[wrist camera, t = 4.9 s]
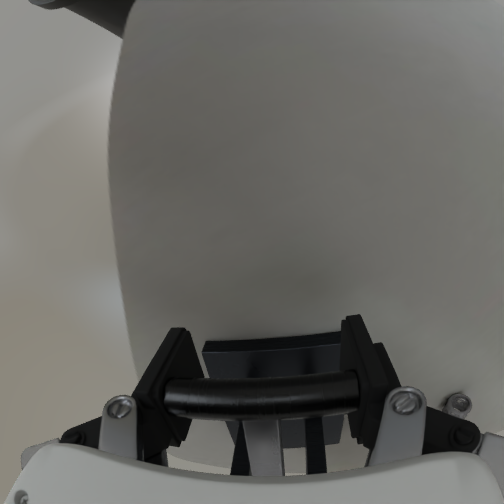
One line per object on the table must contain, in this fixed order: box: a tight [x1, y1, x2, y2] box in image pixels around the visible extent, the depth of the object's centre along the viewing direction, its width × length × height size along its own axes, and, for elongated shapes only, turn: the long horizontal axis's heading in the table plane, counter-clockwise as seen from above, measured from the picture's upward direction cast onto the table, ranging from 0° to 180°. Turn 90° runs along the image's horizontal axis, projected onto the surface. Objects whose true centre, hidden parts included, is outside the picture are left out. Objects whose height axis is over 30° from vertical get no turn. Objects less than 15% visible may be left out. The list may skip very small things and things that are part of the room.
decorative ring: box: [442, 393, 472, 419], centre depth 16 cm, size 3×2×3 cm
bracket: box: [202, 331, 344, 476], centre depth 12 cm, size 12×9×13 cm
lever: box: [163, 369, 360, 476], centre depth 8 cm, size 12×6×2 cm, turn 8°
